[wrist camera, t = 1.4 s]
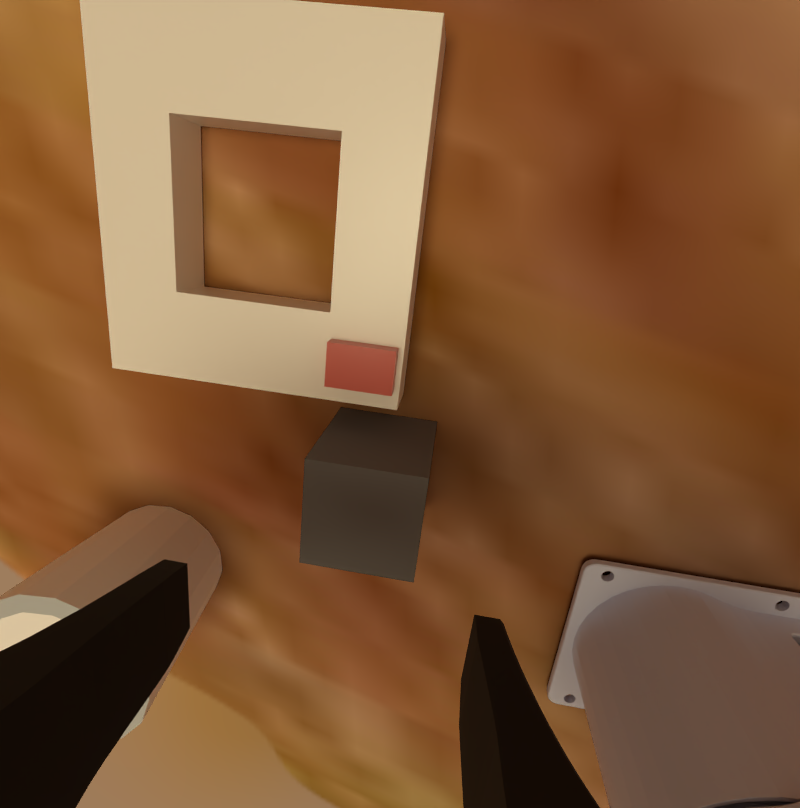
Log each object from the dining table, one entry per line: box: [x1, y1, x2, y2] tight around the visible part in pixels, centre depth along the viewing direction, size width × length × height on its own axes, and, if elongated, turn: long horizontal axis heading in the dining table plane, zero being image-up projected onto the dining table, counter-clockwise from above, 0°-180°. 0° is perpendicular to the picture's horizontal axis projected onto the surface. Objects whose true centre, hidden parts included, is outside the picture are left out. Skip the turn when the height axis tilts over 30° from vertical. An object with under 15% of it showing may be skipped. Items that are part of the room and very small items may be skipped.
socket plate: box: [80, 0, 446, 410], centre depth 17 cm, size 11×12×3 cm
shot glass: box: [0, 505, 222, 738], centre depth 21 cm, size 7×7×7 cm
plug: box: [300, 407, 437, 582], centre depth 19 cm, size 4×4×5 cm
